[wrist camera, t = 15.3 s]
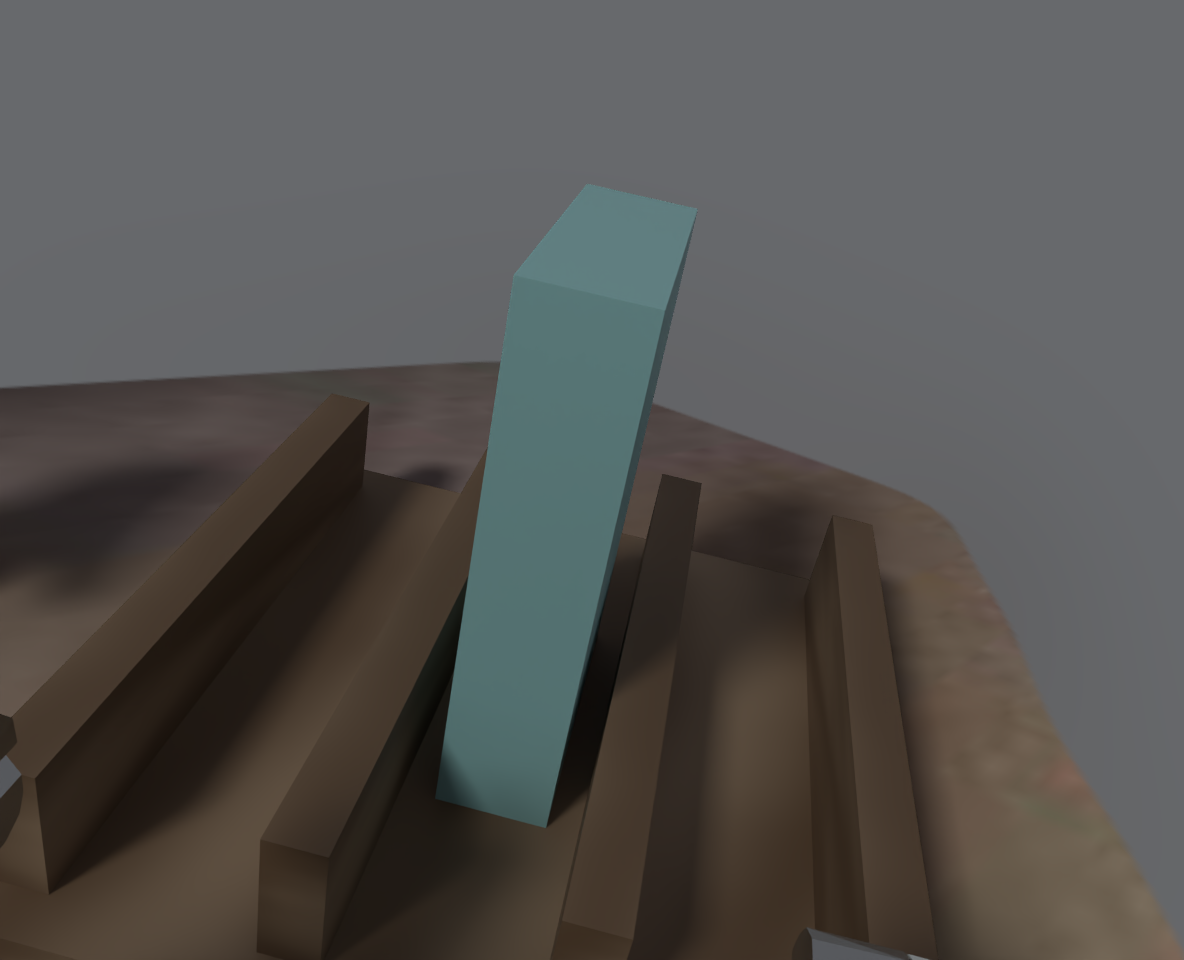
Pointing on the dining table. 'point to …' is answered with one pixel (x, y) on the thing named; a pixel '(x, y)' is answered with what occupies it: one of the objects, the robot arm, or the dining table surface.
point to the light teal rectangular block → (557, 491)
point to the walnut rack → (415, 741)
